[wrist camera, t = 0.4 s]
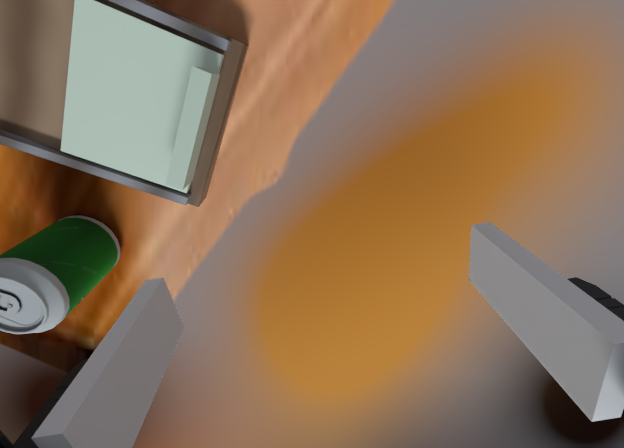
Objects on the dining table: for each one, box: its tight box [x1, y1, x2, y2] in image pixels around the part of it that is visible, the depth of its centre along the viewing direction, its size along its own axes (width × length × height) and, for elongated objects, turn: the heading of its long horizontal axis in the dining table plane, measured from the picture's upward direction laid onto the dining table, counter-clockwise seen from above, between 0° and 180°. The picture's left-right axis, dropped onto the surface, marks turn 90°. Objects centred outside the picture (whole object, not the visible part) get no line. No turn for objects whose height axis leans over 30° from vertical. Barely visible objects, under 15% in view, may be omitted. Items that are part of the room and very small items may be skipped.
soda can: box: [0, 215, 120, 334], centre depth 33 cm, size 8×8×12 cm
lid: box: [61, 0, 224, 193], centre depth 28 cm, size 12×13×4 cm
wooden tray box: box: [0, 0, 248, 207], centre depth 30 cm, size 23×16×4 cm
